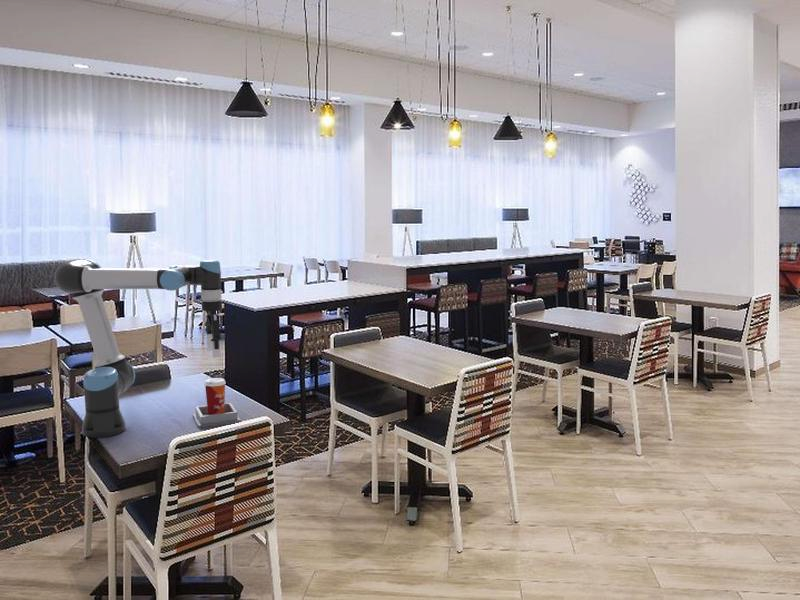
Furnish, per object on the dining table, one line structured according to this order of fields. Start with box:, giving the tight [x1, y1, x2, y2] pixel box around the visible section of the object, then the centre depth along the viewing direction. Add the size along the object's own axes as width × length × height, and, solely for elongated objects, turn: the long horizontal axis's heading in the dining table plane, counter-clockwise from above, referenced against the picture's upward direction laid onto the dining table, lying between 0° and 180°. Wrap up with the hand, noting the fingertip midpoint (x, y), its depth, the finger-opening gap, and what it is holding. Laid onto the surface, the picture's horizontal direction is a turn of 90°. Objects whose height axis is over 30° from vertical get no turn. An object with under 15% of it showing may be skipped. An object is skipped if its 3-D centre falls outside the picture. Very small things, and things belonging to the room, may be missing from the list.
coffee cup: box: [204, 377, 226, 415], centre depth 267 cm, size 8×8×15 cm
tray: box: [192, 402, 242, 429], centre depth 267 cm, size 16×16×4 cm
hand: (213, 353), depth 264 cm, fingers open, 13 cm apart
